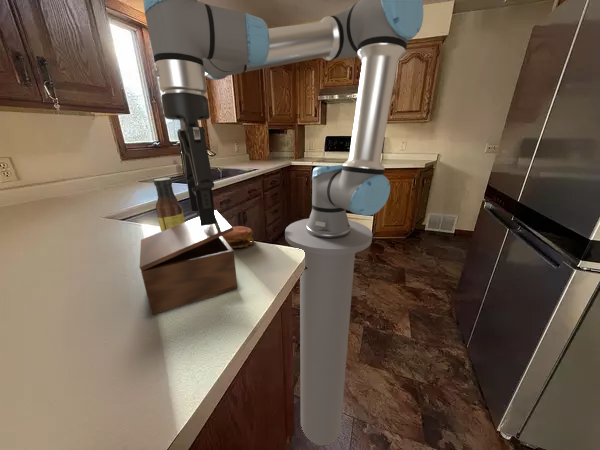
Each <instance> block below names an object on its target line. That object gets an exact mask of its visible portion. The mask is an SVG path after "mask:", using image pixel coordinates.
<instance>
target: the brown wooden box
mask: <svg viewBox="0 0 600 450" xmlns="http://www.w3.org/2000/svg"><path fill="white" fill-rule="evenodd" d="M236 269H237V268H236V259H235V251H234V248H231V247H230V245H229V244H228V243H227V242H226V240H225V239H224V238H223V236H220V237H218V238H216V239H213V240H211V241H209V242H206V243H204V244H202V245H200V246H197V247H195V248H193V249H191V250H188V251H186V252H184V253H182V254H179V255H177V256H175V257H173V258H170V259H168V260H166V261H164V262H161V263H159V264H157V265H155V266H152V267H150V268H148V269H146V270H143V271H141V270H140V271H141V277H142V280H143V284H144V288H145V292H146V297H147V299H148V300H147V301H148V304H149V308H150V312H151V315H155V314H160V313H162V312H166V311H169V310H172V309H175V308H178V307H181V306H185V305H188V304H192V303H195V302H199V301H201V300H204V299H205V300H206V299H209V298H212V297H214V296H218V295H221V294H225V293H228V292H231V291H234V290H237V289H239V287H238V279H237V270H236Z"/></svg>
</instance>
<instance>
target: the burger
mask: <svg viewBox="0 0 600 450" xmlns="http://www.w3.org/2000/svg"><path fill="white" fill-rule="evenodd" d="M231 227H232V228H233V231H231V232H229V233H227V234H225V235H222V236H223V238H224V239H225V240H226V242H227V243H228V244H229V245H230V247H231V248H232V249H239V248H241V249H242V248H246V247H248V246H249V245H250V246H251V245H253V244H254V239H253V236H252V235H253V234H254V231H253V230H252V229H251V228H250V227H247V226H241V225H237V226H231ZM250 241H252V242H250Z"/></svg>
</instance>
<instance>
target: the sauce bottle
mask: <svg viewBox="0 0 600 450" xmlns="http://www.w3.org/2000/svg"><path fill="white" fill-rule="evenodd" d="M153 185H154V187H155V189H156V193H157V195H156V196H157V201H156V203H155V210H156V214H157V220H158V224H159V228H160V232H162V231H164V230H167V229H169V228H172V227H174V226H177V225H180V224H182V223H185V222H186V219H185V215H184V211H183V207H182V205H181V204H180V202H179V199H177V197H176V195H175V192H174V190H173V189H174V188H173V181H172V179H171V178H170V177H161V178H155V179H153Z"/></svg>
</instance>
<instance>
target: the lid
mask: <svg viewBox="0 0 600 450" xmlns="http://www.w3.org/2000/svg"><path fill="white" fill-rule="evenodd" d="M193 193H194V194H195V195H196V193H195V191H194V192H193ZM214 210H215V209H214ZM215 217H216V224H211V225H205V226H201V225H200V219H199V216H197V217H194V218H192V219H190V220H187V221H185V223H182V224H180V225H177V226H174V227H172V228H169V229H167V230H164V231H162V232H161V231H159V232H158V233H155V234H151V235H149V236H146V237H145V238H142V239H141V240H140V250H139V251H140V252H139V269H140V271H143V270H146V269H148V268H150V267H152V266H155V265H157V264H159V263H161V262H164V261H166V260H168V259H170V258H173V257H175V256H177V255H179V254H182V253H184V252H186V251H188V250H191V249H193V248H195V247H197V246H200V245H202V244H204V243H206V242H209V241H211V240H213V239H216V238H218V237H220V236H222V235H225V234H227V233H229V232H231V231H233V228H232V227H233V226H232V225H231V224H230V223H229V222H228V221H227V220H226V219H225V218H224V217H223V216H222V215H221V214H220V213H219V212H218V210H217V209H216V210H215Z"/></svg>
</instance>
